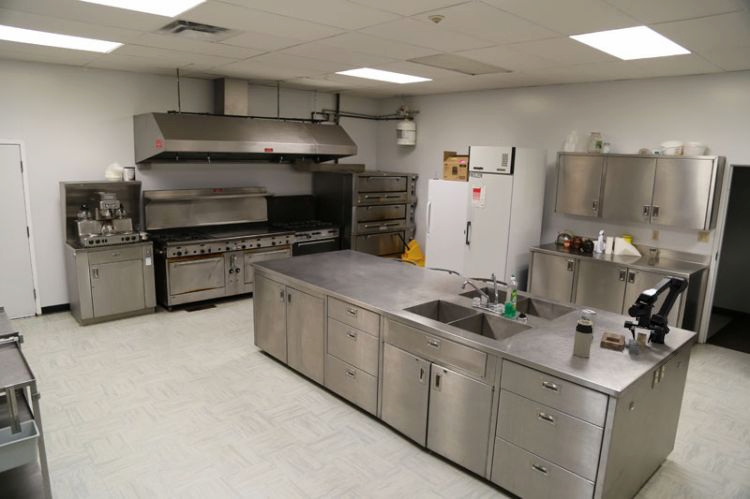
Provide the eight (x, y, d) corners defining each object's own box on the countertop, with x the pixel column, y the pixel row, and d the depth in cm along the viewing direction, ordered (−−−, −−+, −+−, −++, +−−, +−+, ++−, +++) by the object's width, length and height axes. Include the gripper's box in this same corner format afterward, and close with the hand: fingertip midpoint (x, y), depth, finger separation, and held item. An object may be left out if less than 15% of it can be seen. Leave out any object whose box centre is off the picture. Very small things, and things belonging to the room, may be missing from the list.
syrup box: (578, 333, 286) (581, 310, 283) (586, 332, 289) (589, 309, 286) (586, 337, 281) (589, 313, 278) (593, 336, 283) (596, 312, 281)
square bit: (645, 344, 273) (646, 334, 272) (645, 346, 270) (646, 336, 268) (636, 342, 276) (637, 332, 274) (635, 345, 272) (637, 334, 271)
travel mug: (581, 358, 251) (585, 325, 247) (569, 352, 258) (573, 320, 254) (592, 356, 254) (597, 323, 250) (580, 350, 261) (584, 318, 257)
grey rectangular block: (637, 349, 266) (638, 340, 265) (638, 355, 258) (639, 346, 257) (628, 347, 268) (629, 339, 267) (628, 353, 260) (629, 344, 259)
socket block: (624, 340, 277) (625, 335, 277) (622, 350, 263) (623, 345, 262) (603, 336, 283) (604, 331, 282) (600, 346, 268) (600, 340, 268)
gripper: (664, 314, 271) (660, 341, 275) (627, 308, 281) (623, 334, 284) (664, 320, 262) (660, 347, 265) (625, 313, 271) (621, 340, 274)
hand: (641, 341), depth 272 cm, fingers open, 6 cm apart
